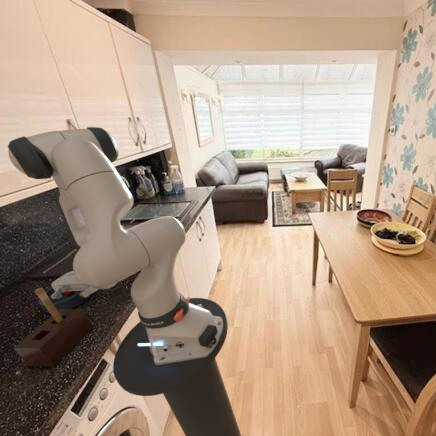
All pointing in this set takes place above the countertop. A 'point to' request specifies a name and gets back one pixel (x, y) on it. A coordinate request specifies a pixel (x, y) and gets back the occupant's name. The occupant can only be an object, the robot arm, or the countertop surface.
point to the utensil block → (54, 338)
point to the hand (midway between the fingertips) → (68, 297)
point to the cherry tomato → (68, 292)
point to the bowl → (64, 300)
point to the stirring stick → (49, 305)
